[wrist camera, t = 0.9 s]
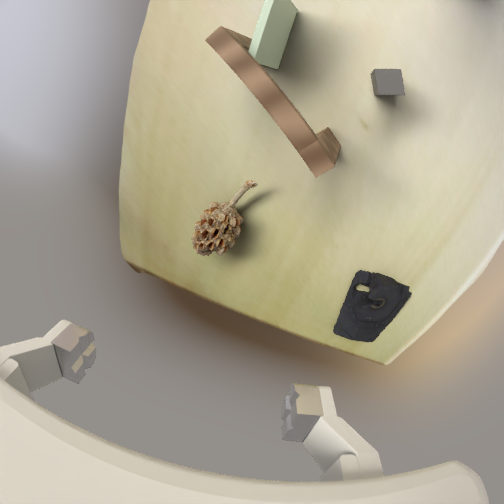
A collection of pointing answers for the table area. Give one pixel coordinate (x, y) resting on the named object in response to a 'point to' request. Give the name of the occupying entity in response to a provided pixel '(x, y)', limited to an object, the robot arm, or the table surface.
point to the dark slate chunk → (370, 306)
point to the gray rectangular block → (387, 82)
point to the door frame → (276, 101)
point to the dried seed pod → (219, 225)
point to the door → (272, 32)
